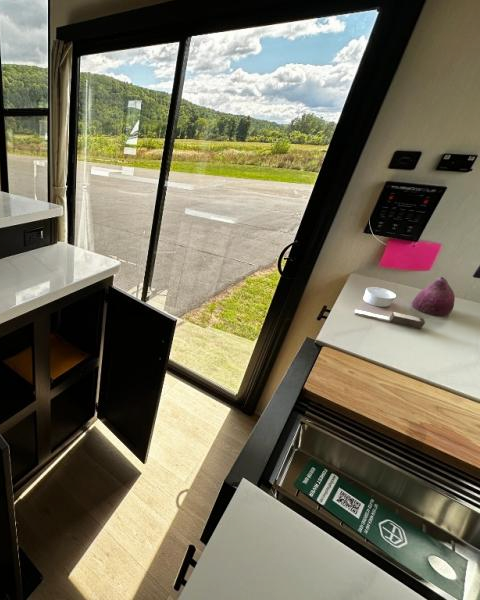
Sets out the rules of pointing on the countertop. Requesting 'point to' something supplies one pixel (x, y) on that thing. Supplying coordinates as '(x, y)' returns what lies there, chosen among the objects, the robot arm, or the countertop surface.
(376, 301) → the ramekin
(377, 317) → the knife
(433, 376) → the countertop surface
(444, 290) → the vegetable
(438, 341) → the countertop surface
